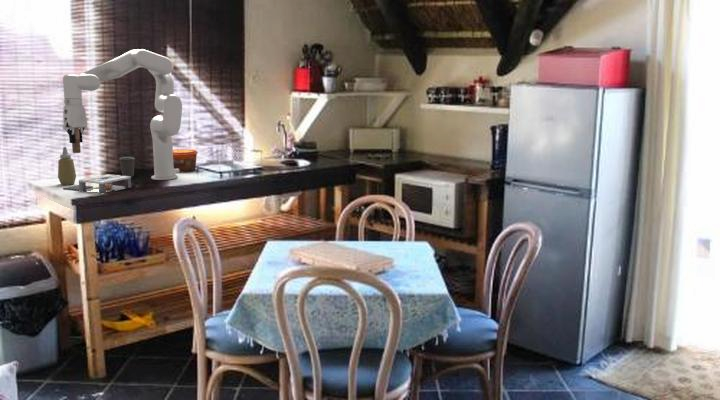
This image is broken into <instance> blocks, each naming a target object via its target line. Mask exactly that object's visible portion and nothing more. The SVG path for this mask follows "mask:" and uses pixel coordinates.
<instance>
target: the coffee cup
mask: <svg viewBox="0 0 720 400" xmlns="http://www.w3.org/2000/svg"><path fill="white" fill-rule="evenodd" d="M135 160H136V158H135V157H133V156H122V157H120V158H119V159H118V161H119V164H120V169H121V174H122V175H121V176H131V178H132V177H134V175H135V174H134V173H135Z"/></svg>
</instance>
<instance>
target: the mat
mask: <svg viewBox="0 0 720 400" xmlns="http://www.w3.org/2000/svg"><path fill="white" fill-rule="evenodd" d="M91 188H94V186H93V185H86V190H87V189H91ZM62 189H63V190H66V191H67V190H68V191H77V192H80V191H79V184H76V185H70V186H67V187H63V188H62Z"/></svg>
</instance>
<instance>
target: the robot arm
mask: <svg viewBox="0 0 720 400" xmlns="http://www.w3.org/2000/svg"><path fill="white" fill-rule="evenodd" d="M138 68H139V69H140V68H144V69H147V71H148V72H149V73H150V75H152V76H153V78H154V79H155V86H156V87H155V94H154V95H155V96H154V98H155V99H154V108H155V110H156V111H157V112H159V113H163V114H162V115H161V114H160V115H156V116H154V117H153V118H152V119H151V120H150V124H149V128H150V133H151V139H152V151H153V153H152V154H153V171H154V173H153V174H154V175H151V177H150V178H151V179H152V180H154V181H168V180H175V179H178V175H177V174H176V173H180V172H179V169H175V168H174V164H173V150H174V148H173V146H174V144H173V138H172V136H173V137H174V136H176V135H177V134H178V133H179V131H180V128H181V123H182V114H183V113H182V112H183V103H182V100H181V98H180V97H179V96H178V95H176V94H175V92H174V91H175V83H174V77H173V75H172V72H173V70H174V63H173V61H172V60H171V59H170V58H169V57H167V56H163V55H162V54H158V53H157V52H156V53H155V52H152V51H151V50H150V51H149V50H148V49H147V50H146V49H144V48H141V49H139V48H137V49H131V50H129V51H127V52H125V53H123V54H122V55H120V56H117V57H115V58H113V59H111V60H109V61H107V62H104V63H102V64H101V63H100V64H99V65H97V66H94V67H92V68H89V69H87V70H85V71H84V72H81V73H80V74H65V75H63V76H62V83H63V84H62V85H63V99H64V100H63V102H62V103H64V105H63V113H62V114H63V115H62V116H63V117H62V121H63V126H62V130H64V131H66V133H67V135H68V140H69V143H70V144H72V143H76V137H75V134H74V128H78V127H79V135H80V143H83V134H84V132H85V129H86V128H87V127H88V120H87V119H88V118H87V113H86V109H85V108H86V107H85V105H83V91H87V92H88V91H89V92H94V91H96V90H98V89H99V88H100V86H101V83H102V82H105V81H109V80H115V79H118V78H121V77H124V76H125V75H127V74H129V73H131V72H133V71H135V70H137V69H138Z"/></svg>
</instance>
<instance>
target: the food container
mask: <svg viewBox="0 0 720 400" xmlns="http://www.w3.org/2000/svg"><path fill="white" fill-rule="evenodd" d="M197 155H198V151H197V150H195V149H183V148H182V149H173V164H174V168H175V169H179V172H178V173H189V172H195V171H196V170H197V169H196V166H197Z"/></svg>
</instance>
